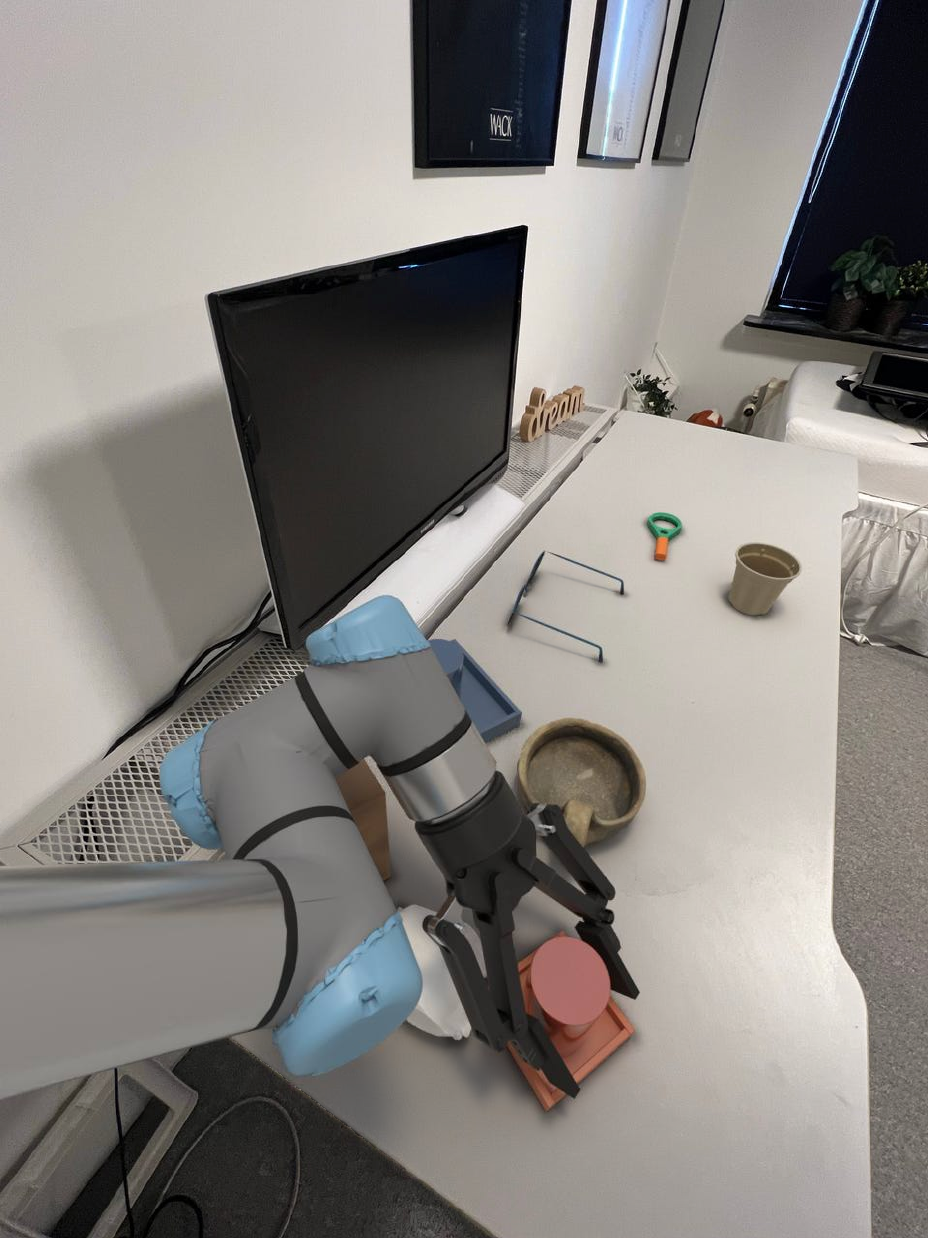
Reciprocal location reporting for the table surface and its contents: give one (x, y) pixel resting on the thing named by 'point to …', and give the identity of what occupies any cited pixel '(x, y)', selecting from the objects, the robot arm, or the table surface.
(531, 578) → the sunglasses
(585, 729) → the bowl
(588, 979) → the red cylinder
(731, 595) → the flower pot
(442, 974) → the white turtle figurine
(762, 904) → the table surface
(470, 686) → the blue tray
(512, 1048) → the red tray
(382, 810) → the brown wooden block
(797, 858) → the table surface
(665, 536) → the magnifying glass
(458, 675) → the slate blue cylinder
